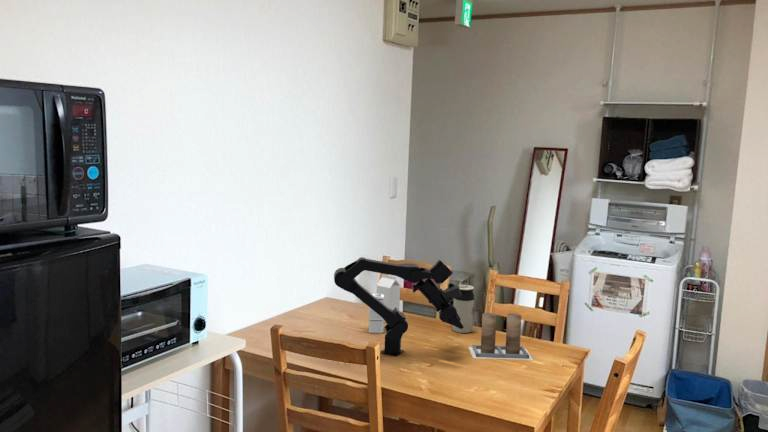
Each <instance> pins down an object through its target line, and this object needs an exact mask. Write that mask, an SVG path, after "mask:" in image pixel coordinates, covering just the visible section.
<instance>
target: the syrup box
mask: <svg viewBox="0 0 768 432" xmlns="http://www.w3.org/2000/svg"><path fill="white" fill-rule="evenodd" d="M371 294H372V295H373V296H374V297H376V298H377V299H378V300H379V301H380V302H382V303H383V304H384V294H376V293H371ZM368 308H369V309H368V333H372V334H383V333H384V332H385V329H384V327H385V322H384V319H383V318H382V317H381V316H380V315H378V314H377V313H376V312H375V311H374V310H372V309H371V308H370V307H369V306H368Z"/></svg>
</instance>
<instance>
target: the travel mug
mask: <svg viewBox="0 0 768 432" xmlns="http://www.w3.org/2000/svg"><path fill="white" fill-rule="evenodd" d="M457 285H458V286H459V288H460V291H461V293H462V295H461V296H459V297H455V298H453V306H454V307H455V308H456V310H457V314H458V315H459V317H460V319H461V320H460V322H461V323H462V325H463V327H464V328H463V329H460V328H458V327H455V326H453V325H452V330H453V332H456V333H460V334H468V333H471V332H473V326H474V304H475V295H474V289H475V287H474V286H472V285H468V284H457Z"/></svg>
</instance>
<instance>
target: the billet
mask: <svg viewBox="0 0 768 432" xmlns="http://www.w3.org/2000/svg"><path fill="white" fill-rule="evenodd" d="M481 316H482V317H481V318H482V319H481V332H480V333H481V336H480V337H481V338H480V345H481V353H494V354H495V346H496V336H497V335H496V333H497V314H496V313H493V312H484V313H482V315H481Z"/></svg>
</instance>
